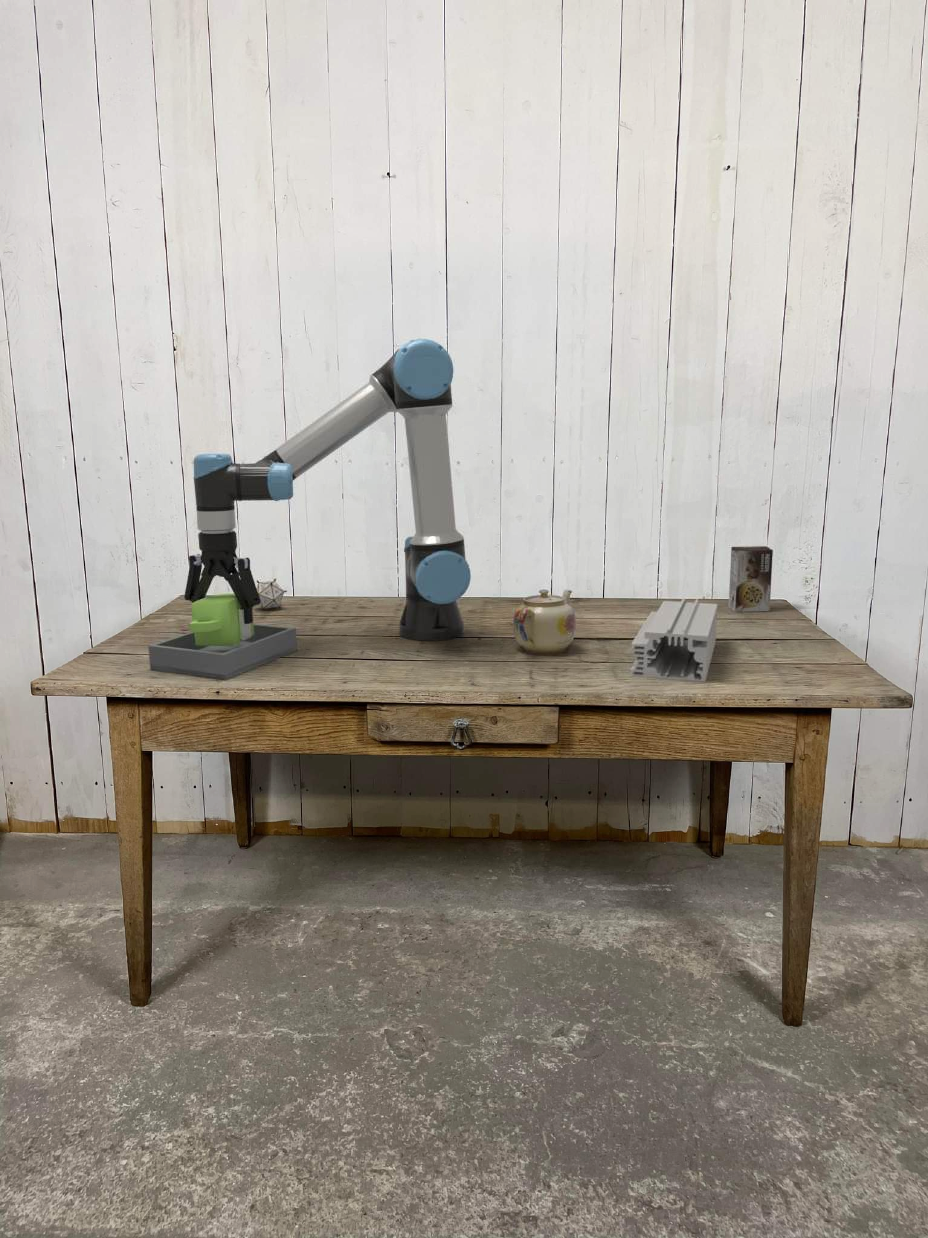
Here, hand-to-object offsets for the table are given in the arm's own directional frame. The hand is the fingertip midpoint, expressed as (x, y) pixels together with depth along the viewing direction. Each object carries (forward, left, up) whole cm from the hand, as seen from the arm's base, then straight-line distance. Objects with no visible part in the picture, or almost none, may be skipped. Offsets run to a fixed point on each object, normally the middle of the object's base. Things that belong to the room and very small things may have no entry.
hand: (224, 636), depth 184 cm
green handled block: (0, 0, -1) cm, 1 cm away
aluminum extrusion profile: (-87, -37, -6) cm, 94 cm away
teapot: (-59, -34, -5) cm, 68 cm away
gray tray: (0, 0, -5) cm, 5 cm away
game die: (+22, -45, -5) cm, 50 cm away
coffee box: (-95, -91, -5) cm, 132 cm away
